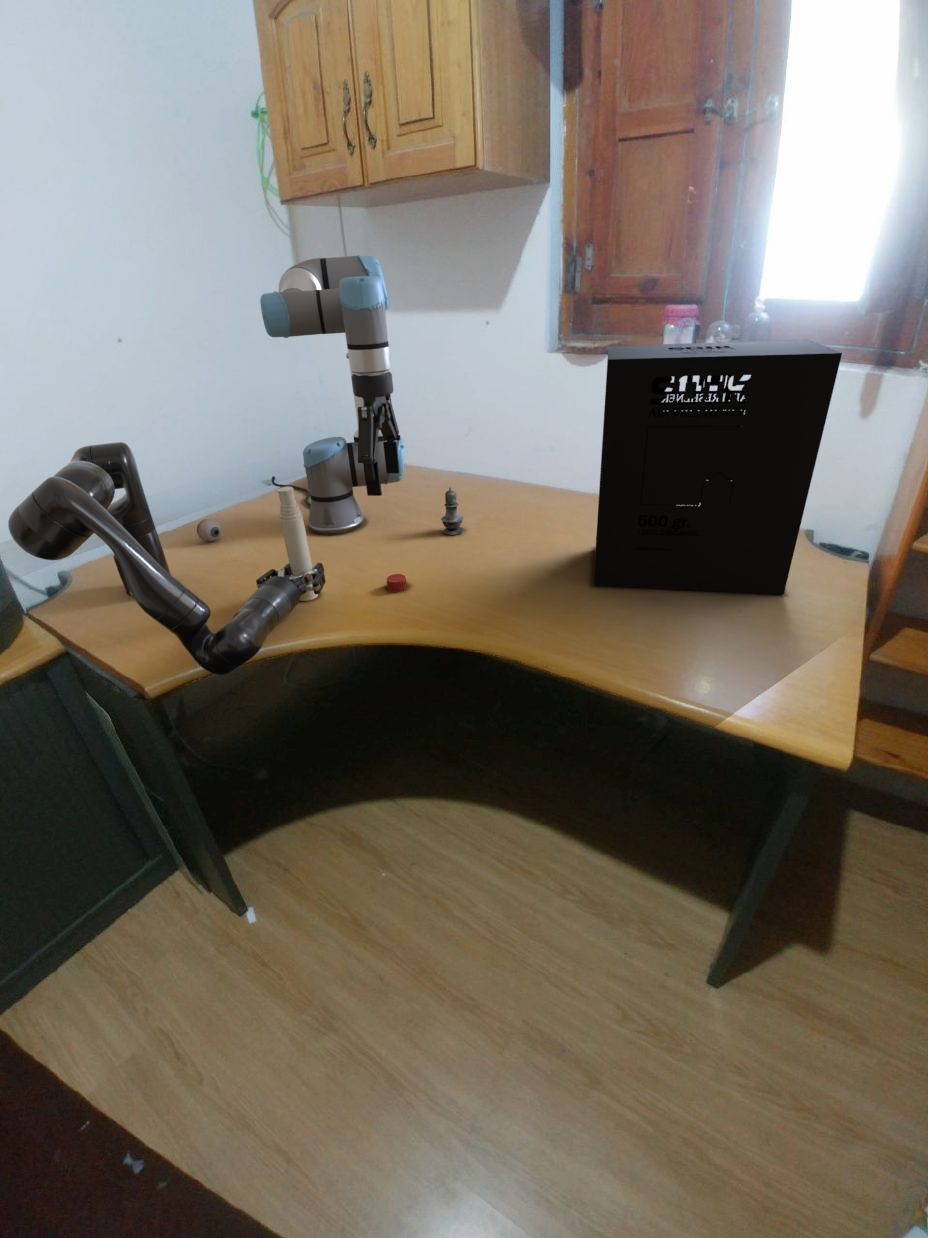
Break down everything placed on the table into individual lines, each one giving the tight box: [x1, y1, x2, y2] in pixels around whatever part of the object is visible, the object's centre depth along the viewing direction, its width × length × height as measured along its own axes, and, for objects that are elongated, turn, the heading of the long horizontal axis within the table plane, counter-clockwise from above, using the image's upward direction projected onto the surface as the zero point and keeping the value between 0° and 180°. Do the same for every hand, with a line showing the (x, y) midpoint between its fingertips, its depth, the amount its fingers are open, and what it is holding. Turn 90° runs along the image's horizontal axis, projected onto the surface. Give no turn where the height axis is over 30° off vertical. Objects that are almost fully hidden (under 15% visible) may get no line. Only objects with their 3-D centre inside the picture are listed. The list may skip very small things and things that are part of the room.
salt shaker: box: [440, 487, 464, 536], centre depth 158 cm, size 6×6×12 cm
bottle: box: [277, 486, 319, 602], centre depth 126 cm, size 4×4×24 cm
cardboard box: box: [593, 339, 843, 595], centre depth 123 cm, size 38×20×45 cm, turn 78°
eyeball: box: [196, 518, 222, 543], centre depth 162 cm, size 6×6×6 cm
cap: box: [386, 573, 408, 593], centre depth 133 cm, size 4×4×2 cm
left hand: (307, 566), depth 131 cm, fingers open, 6 cm apart
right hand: (384, 483), depth 122 cm, fingers open, 13 cm apart
